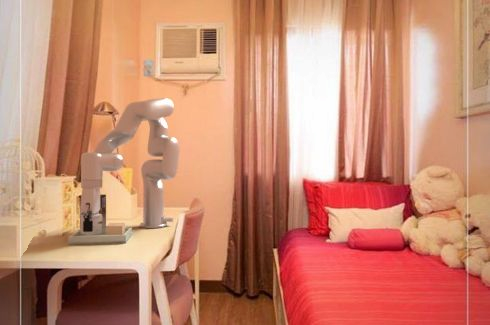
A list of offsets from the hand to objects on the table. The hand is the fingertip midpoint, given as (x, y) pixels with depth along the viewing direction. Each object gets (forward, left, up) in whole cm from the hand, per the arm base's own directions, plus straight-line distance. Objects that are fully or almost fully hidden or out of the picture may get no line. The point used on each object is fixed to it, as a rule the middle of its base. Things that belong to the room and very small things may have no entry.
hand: (91, 228), depth 125 cm
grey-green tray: (-4, 0, -4) cm, 6 cm away
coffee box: (+3, -14, -5) cm, 15 cm away
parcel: (-9, 0, -4) cm, 10 cm away
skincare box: (0, 0, -2) cm, 2 cm away
